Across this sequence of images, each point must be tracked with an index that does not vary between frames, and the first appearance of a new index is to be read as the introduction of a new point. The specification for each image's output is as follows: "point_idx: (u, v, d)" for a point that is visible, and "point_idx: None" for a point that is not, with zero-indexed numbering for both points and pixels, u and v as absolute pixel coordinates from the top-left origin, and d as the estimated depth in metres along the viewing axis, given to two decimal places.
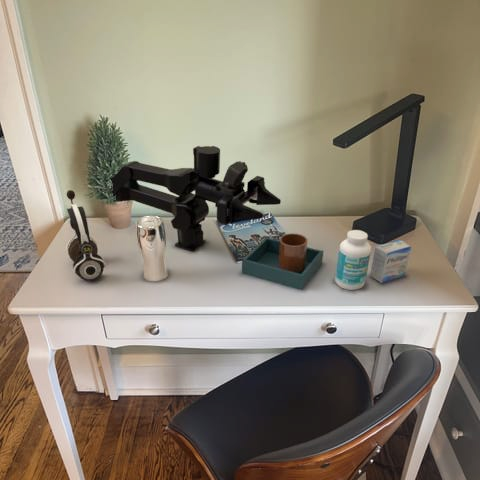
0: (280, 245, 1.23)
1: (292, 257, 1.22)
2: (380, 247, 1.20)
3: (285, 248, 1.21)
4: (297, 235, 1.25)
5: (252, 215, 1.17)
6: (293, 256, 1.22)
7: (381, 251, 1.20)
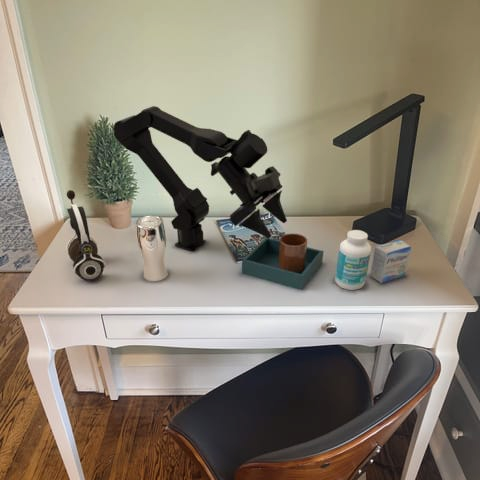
0: (280, 245, 1.23)
1: (292, 257, 1.22)
2: (380, 247, 1.20)
3: (285, 248, 1.21)
4: (297, 235, 1.25)
5: (262, 231, 1.19)
6: (293, 256, 1.22)
7: (381, 251, 1.20)
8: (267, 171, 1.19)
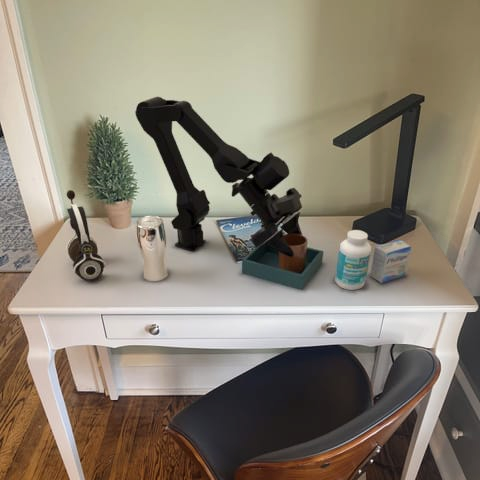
0: None
1: (292, 257, 1.22)
2: (380, 247, 1.20)
3: None
4: (297, 235, 1.25)
5: (284, 251, 1.21)
6: (293, 256, 1.22)
7: (381, 251, 1.20)
8: (288, 192, 1.20)
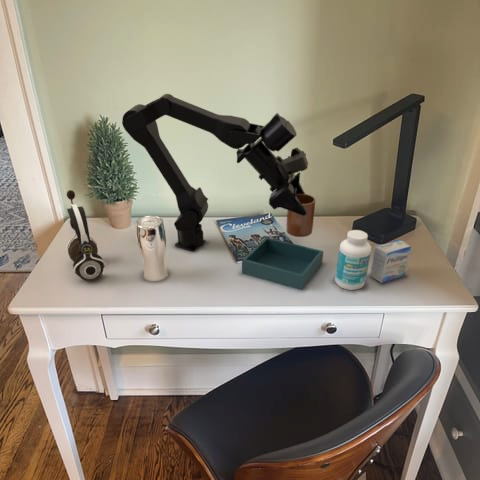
0: None
1: (305, 215, 1.25)
2: (380, 247, 1.20)
3: None
4: (302, 195, 1.29)
5: (298, 210, 1.23)
6: (306, 214, 1.25)
7: (381, 251, 1.20)
8: (293, 153, 1.22)
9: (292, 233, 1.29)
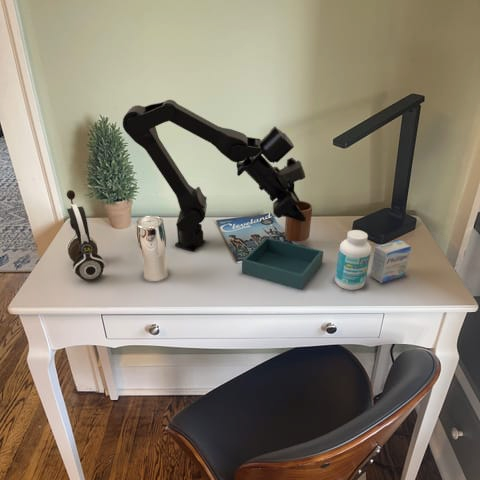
0: None
1: (304, 221, 1.32)
2: (380, 247, 1.20)
3: None
4: (297, 202, 1.35)
5: (298, 216, 1.30)
6: (305, 220, 1.32)
7: (381, 251, 1.20)
8: (289, 163, 1.28)
9: (292, 239, 1.35)
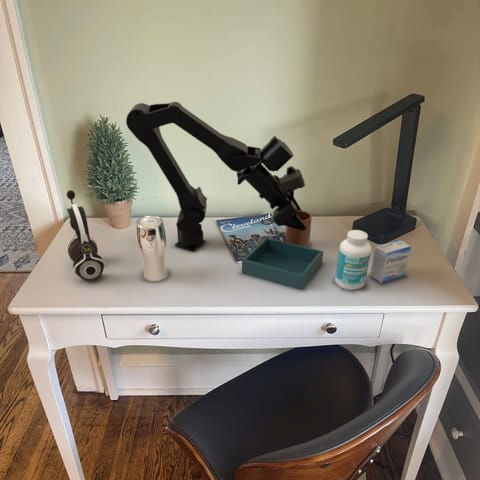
0: None
1: (303, 231, 1.33)
2: (380, 247, 1.20)
3: None
4: (297, 211, 1.37)
5: (299, 226, 1.30)
6: None
7: (381, 251, 1.20)
8: (288, 171, 1.30)
9: None
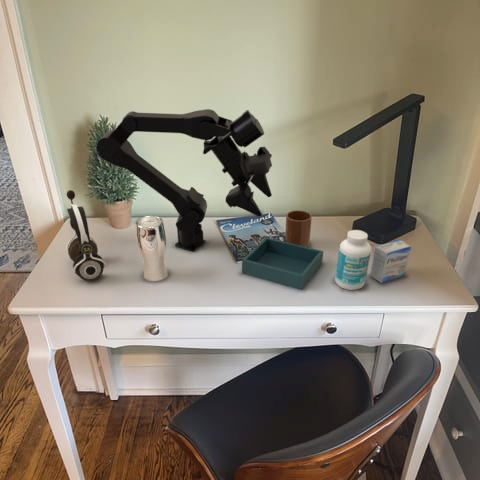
0: (290, 223, 1.33)
1: (303, 231, 1.33)
2: (380, 247, 1.20)
3: (297, 224, 1.32)
4: (297, 211, 1.37)
5: (253, 211, 1.27)
6: (304, 229, 1.33)
7: (381, 251, 1.20)
8: (259, 151, 1.24)
9: None
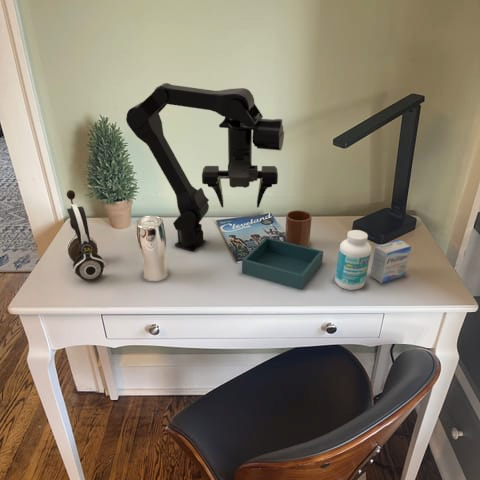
0: (290, 223, 1.33)
1: (303, 231, 1.33)
2: (380, 247, 1.20)
3: (297, 224, 1.32)
4: (297, 211, 1.37)
5: None
6: (304, 229, 1.33)
7: (381, 251, 1.20)
8: (251, 168, 1.17)
9: None
